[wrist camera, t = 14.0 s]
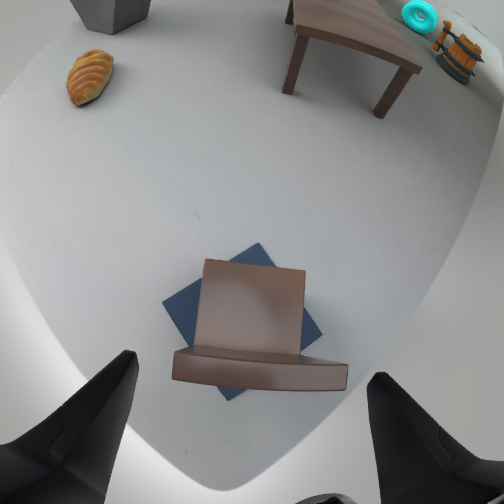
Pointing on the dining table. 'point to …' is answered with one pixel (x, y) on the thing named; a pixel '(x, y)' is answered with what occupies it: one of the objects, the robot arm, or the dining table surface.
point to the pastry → (89, 76)
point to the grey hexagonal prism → (110, 13)
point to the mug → (457, 55)
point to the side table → (351, 39)
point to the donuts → (414, 21)
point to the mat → (187, 301)
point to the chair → (253, 333)
